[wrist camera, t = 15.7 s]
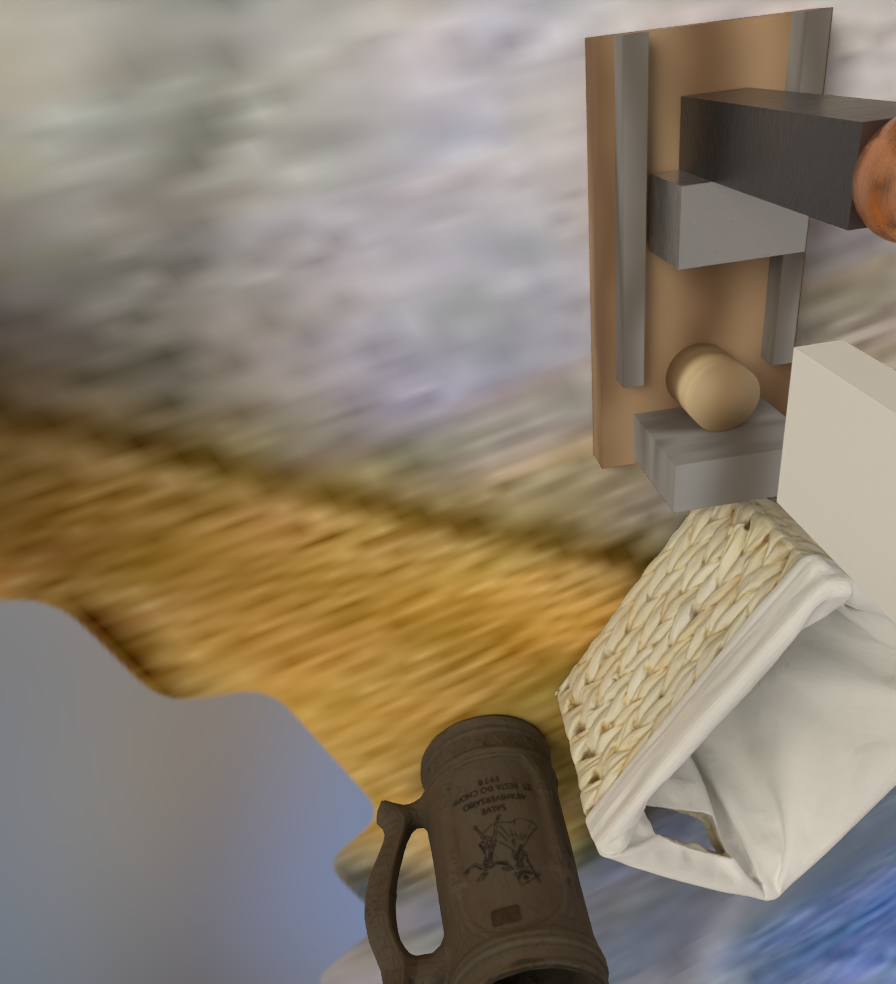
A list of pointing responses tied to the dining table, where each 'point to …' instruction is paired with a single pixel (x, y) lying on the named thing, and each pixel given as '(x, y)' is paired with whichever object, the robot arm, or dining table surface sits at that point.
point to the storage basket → (735, 705)
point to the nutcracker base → (694, 291)
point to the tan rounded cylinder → (712, 387)
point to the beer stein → (487, 866)
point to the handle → (772, 174)
